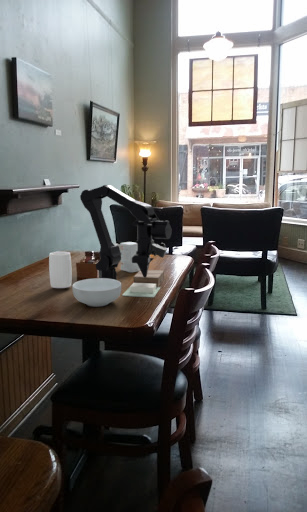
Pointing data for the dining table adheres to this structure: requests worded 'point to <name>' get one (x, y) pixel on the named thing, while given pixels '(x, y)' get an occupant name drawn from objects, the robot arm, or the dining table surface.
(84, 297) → the cereal bowl
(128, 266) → the small box
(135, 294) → the mat
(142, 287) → the white rectangular block
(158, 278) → the brown flat wooden block
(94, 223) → the robot arm
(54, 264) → the cup
